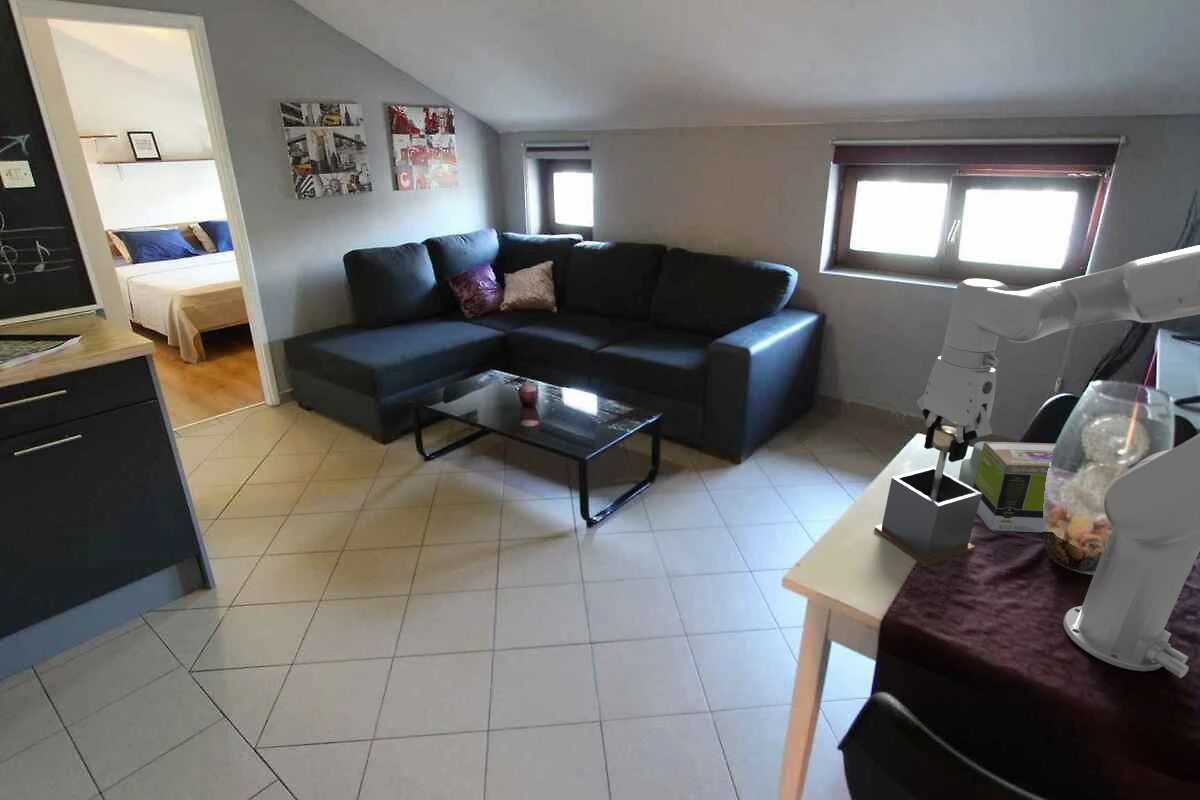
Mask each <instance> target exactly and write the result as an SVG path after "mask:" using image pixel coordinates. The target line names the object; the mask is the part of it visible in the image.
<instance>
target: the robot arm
mask: <svg viewBox="0 0 1200 800" xmlns="http://www.w3.org/2000/svg"><path fill="white" fill-rule="evenodd" d="M953 295H954V296H953V300H952V305H951V309H950V313H949V318H948V323H947V327H946V331H945V337H944V341H943V345H942V349H941V354H940V356H938V357H937V359H936V360H935V362H934V365H933V366H932V370H931V372H930V374H929V377H928V380H927V385H926V387H925V390H924V391H925V392H924V393H923V395H922V396H920V397H919V398H918V399H917V400H916V404H917V405H918V407H919V409H920V410H921V411H922V415H923V417H924V419H925V426H926V427H927V429H926V436H925V441H924V446H923V447H924V448H925V449H926V450H930V449H934V448H933V447H932V445H931V443H932V439H933V435H934V430H935V428H936V427H938V426H943V425H942V424H943V422H944V421H945V420H947V421H949V422H951V423H954V424H956V428H957V435H956V439H957V440H953V441H952V445H951V449H950V453H948V456H947V457H948V459H947V460H948V461H949V462H950V463H954V462H959V461H963V460H965V458H966V456H967V452H968V448H969V445H970V442H971V441H973V440H975V439H977V438H980V437H985V436H988V435H992V434H993V429H992V427H991V423H990V420H991V416H992V412H993V411H992V410H993V406H994V401H995V395H996V394H995V393H996V383H997V382H996V381H997V375H996V374H997V373H996V369H995V368H993V367H997V366H998V365H999V364H1000V360H999V358H996V357H995V356H996V351H997V350H996V349H997V345H998V341H999V338H1001V339H1003V340H1006V341H1008V342H1012V343H1019V344H1020V343H1022V344H1023V343H1029V342H1032V341H1036V340H1038V339H1040V338H1044V337H1046V336H1048V335H1050V334H1053V333H1057V332H1059V331H1064V330H1067V329H1068V330H1069V329H1073V328H1078V327H1084V326H1090V325H1094V324H1101V323H1108V322H1115V321H1125V320H1129V321H1134V322H1135V321H1136V322H1139V323H1141V324H1142V323H1146V324H1148V323H1157V322H1162V321H1168V320H1174V319H1178V318H1179V319H1181V318H1184V317H1189V316H1196V315H1200V244H1199V245H1194V246H1189V247H1185V248H1182V249H1178V250H1174V251H1169V252H1165V253H1159V254H1155V255H1152V256H1151V255H1150V256H1148V257H1144V258H1143V257H1142V258H1139V259H1136V260H1132V261H1129V262H1128V261H1127V262H1126V263H1125V264H1123V265H1120V266H1116V267H1114V268H1110V269H1106V270H1102V271H1098V272H1094V273H1088V274H1085V275H1081V276H1076V277H1073V278H1068V279H1065V280H1059V281H1056V282H1055V281H1054V282H1050V283H1046V284H1042V285H1039V286H1034V287H1030V288H1027V289H1022V290H1015V291H1010V288H1009V286H1008V285H1007V284H1006V283H1003V282H1001V281H999V280H995V279H988V278H967V279H964V280H962V281H960V282H959V283H958V285H956V288H955V292H954V294H953ZM976 423H977V424H976ZM975 424H976V425H977V427H978V428H976V429H975V427H976V426H975ZM1103 508H1104V512H1105V515H1106V518H1107V520H1108V521H1109V522H1110V523H1109V524H1110V525H1112V526H1111V529H1110V532H1109V535H1108V537H1107V539H1106V542H1105V545H1104V546H1103V549H1102V552H1101V555H1100V557H1099V559H1098V563H1097V566H1096V568H1095V570H1094V574H1093V577H1092V579H1091V581H1090V584H1089V587H1088V590H1087V592H1086V596H1085V598H1084V600H1083V603H1082V605H1079V606H1074V607H1072V608H1070V609H1069V610H1068V611H1067V612H1066V613H1065V615H1064V617H1063V628H1064V630H1065V632H1066V634H1067V635H1068V637H1070V639H1071V640H1072V641H1073V642H1074V643H1075V644H1076V645H1077V646H1078V647H1080V648H1081V649H1083V650H1084V651H1085V652H1086V653H1088V654H1090V655H1091V656H1093V657H1095V658H1097V659H1099V660H1101V661H1103V662H1104V663H1108V664H1110V665H1113V666H1115V667H1119V668H1121V669H1126V670H1131V671H1136V672H1137V671H1138V672H1149V671H1155V670H1159V669H1160V668H1162V667H1163V668H1165V670H1167V671H1169V672H1170V673H1171V674H1174V675H1175V676H1176V677H1178V678H1183V677H1184V676H1186V674H1187V673H1188V672H1189V669H1190V667H1189V666H1188V664H1186V663H1187V661H1188V660H1189V656H1188V655H1186V654H1184V653H1183V652H1181V651H1179V650H1177V649H1175V648H1174V647H1171V643H1169V639H1170V637H1172V633H1171V632H1169V631H1168V630H1165V627H1166V625H1167V623H1168V621H1169V618H1170V617H1171V614H1172V611H1173V609H1174V608H1175V605H1176V603H1177V601H1178V598H1179V596H1180V594H1181V592H1182V590H1183V587H1184V585H1185V583H1186V581H1187V579H1188V576H1189V575H1190V572H1191V571H1192V569H1193V566H1194V564H1195V562H1196V559H1197V557H1198V556H1199V553H1200V432H1199V433H1197V435H1194V436H1193V437H1191V438H1189V439H1188V440H1186V441H1185V442H1183V443H1180V444H1179V445H1177V446H1175V447H1174V448H1172V449H1166V450H1161V451H1159V452H1158V451H1157V452H1155V453H1153V454H1150V455H1149V456H1147V457H1145V458H1144V459H1142V460H1140V461H1139V462H1138V463H1136V464H1135V465H1134V466H1132V467H1131V468H1130V469H1128V470H1127V471H1125V472H1124V473H1123V474H1121V475H1120V476H1118V477H1117V478H1116V479H1115V480H1114V481H1112V483H1111V484H1110V485H1109V487H1108V489H1107V490H1106V492H1105V495H1104V501H1103Z"/></svg>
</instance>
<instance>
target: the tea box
mask: <svg viewBox="0 0 1200 800" xmlns="http://www.w3.org/2000/svg"><path fill="white" fill-rule="evenodd" d="M983 442H984V445H983V449H982V453H981V458H980V462H979V466H978V470H977V474H976V478H975V482H974V486H973V488H974V489H975V490H977V491H979V492H981V493H982V496H981V500H980V503H979V507H978V511H977V514H976V515H978V516H979V517H980V518H981V520H982V522H983V523H984V525H986V526H987V527H988V529H989V531H1004V532H1021V533H1022V532H1025V533H1028V532H1029V533H1030V532H1031V533H1043V503H1044V491H1045V482H1046V476H1047V471H1048V468H1050V467H1049V463H1050V460H1051V456H1052V453H1053V450H1054V448H1055V446H1056V444H1057V443H1049V442H1048V443H1046V442H1045V443H1043V442H1042V443H1041V442H1010V441H1007V442H1006V441H1005V442H1004V441H983Z"/></svg>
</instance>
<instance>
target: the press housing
mask: <svg viewBox="0 0 1200 800" xmlns="http://www.w3.org/2000/svg"><path fill="white" fill-rule="evenodd" d="M936 467H937V466H930V467H927V468H922V469H918V470H914V471H911V472H907V473H903V474H900V475H896V476H892V477H891V479H890V484H889V490H888V494H887V500H886V503H885V510H884V514H883V518H882V523H881V524H879V525H875V526H874V530H873V531H874V532H875V533H876V534H879V536H881V537H883V538H884V539H885V540H886V541H888V542H890V544H892V545H893V546H895V547H896V548H898V549H899V550H900V551H902V553H905V554H906V555H907V556H908V557H910V558H911V559H913V560H914V561H916V563H919V564H920V565H921V566H923V567H925V568H927V567H930V566H933V565H936V564H939V563H942V562H945V561H947V560H948V561H949V560H951V559H954V558H956V557H959V556H960V557H961V556H963V555H966V554H969V553H972V552H974V551H975V547H976V546H975V545H974V544H973V543H970V539H971V536H972V532H973V528H974V526H975V521H976V517H977V515H978V514H977V511H978V507H979V503H980V500H981V496H982V493H981V492H979V491H977V490H975V489H974V488H972V487H970V486H968V485H966V484H964V483H963V482H961V481H959V479H957V478H956V477H954V476H952V475H950V474H948V473H946V472H944V471H943V475H942V479H941V483H940V487H939V491H938V495H937V499H936V500H938V501H939V502H940V503H937V502H936V501H934V500H933V499H931V498H929V497H928V496H926V495H929V496H930V492H931V488H932V484H933V480H934V475H935V471H936Z"/></svg>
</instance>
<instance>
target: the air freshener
mask: <svg viewBox="0 0 1200 800" xmlns="http://www.w3.org/2000/svg"><path fill="white" fill-rule="evenodd" d="M984 442H985V441H978V442H975V443H974V445H973V448H972V452H971V456H970V458H966V459H965V458H964V459H962V460H961V461H962V462H961V465H960V469H959V475H958V480H959V481H961V482H963V483H964V484H966V485H968V486H970V487H972V488H973V486H974V482H975V478H976V474H977V470H978V466H979V462H980V458H981V453H982V449H983V445H984Z"/></svg>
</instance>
